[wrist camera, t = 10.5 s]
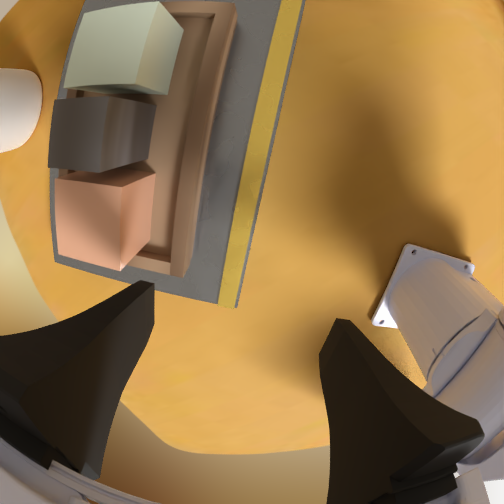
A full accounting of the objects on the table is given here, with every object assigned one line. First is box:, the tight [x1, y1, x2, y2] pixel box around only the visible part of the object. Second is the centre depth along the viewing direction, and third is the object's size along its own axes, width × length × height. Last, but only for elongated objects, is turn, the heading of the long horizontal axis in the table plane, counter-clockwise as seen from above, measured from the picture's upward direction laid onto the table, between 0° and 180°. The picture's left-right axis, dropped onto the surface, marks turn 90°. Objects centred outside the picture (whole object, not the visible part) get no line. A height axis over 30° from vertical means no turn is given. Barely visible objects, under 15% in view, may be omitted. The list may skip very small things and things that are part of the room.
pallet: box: [48, 1, 238, 278], centre depth 12 cm, size 9×16×7 cm, turn 169°
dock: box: [50, 0, 306, 309], centre depth 16 cm, size 16×22×3 cm
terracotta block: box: [55, 168, 156, 271], centre depth 13 cm, size 4×4×4 cm
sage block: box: [63, 1, 184, 95], centre depth 9 cm, size 4×4×4 cm
